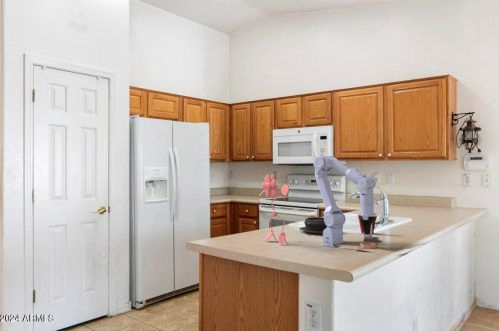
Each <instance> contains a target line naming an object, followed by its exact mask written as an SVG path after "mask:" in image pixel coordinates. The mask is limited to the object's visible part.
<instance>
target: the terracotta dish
mask: <svg viewBox="0 0 499 331" xmlns="http://www.w3.org/2000/svg"><path fill="white" fill-rule="evenodd" d="M359 246H360V247H361V248H366V249H365V250H374V249H373V248H376V244H375V243H370V242H364V243H362V242H360V243H359Z"/></svg>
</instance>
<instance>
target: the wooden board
mask: <svg viewBox="0 0 499 331" xmlns="http://www.w3.org/2000/svg"><path fill="white" fill-rule="evenodd" d="M381 241H382V240H380V239H379V242H378V243H375V244H376V248H373V249H372V250H377V249H378V247H379V246H380V243H381ZM361 243H364V239H362V242H361ZM370 243H373V242H370ZM357 252H358V253H373V254H375V252H374V251H369V250H367V249H366V248H361V247H360V245H358V247H357Z"/></svg>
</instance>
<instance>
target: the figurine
mask: <svg viewBox="0 0 499 331" xmlns="http://www.w3.org/2000/svg"><path fill="white" fill-rule="evenodd" d="M263 180H264V182H262V184H261V187H262V188H263V191H262V192H261V193H259V195H258V198H259V197H261V196H262V194H263V193H264V194H265V197H266V199H269V198H271V199H272V200H271V202H270V203H271V207H272V210H273V211H272V213H271V216H270V217H269V218H270V219H269V220H270V222H272V218H273V217H274V218H276V217H277V218H279V219H281V220H283V224H282V231H281V232H280V233H279V235H278V237H277V239H276V237H275V234H274V229H273V228H272V226H270V231H269V232H267V234H266V236H265V239H264V241H265V242H267V241H268V240H270V239H271V237H272V236H273V238H274V240H275V241H276V240H278V242H279V244H280V245H282V244H284V242H285V244H286V243H287V244H288V241H287V240H286V237H287V236H286V233H285V232H284V228H285V227H284V225H285V219H284V218H282V217H280V216H278V212H277V211H275V208H274V204H273V202H274V201H275V200H277V199H278V198H282V199H285V200H286V199H287V194H288V193H289V191H290V188H289V186H288V185H287V184H286V183H284V184H283V185H282V186H281V194H282V195H283V196H280V195H279V194H278V192H277V191H278V190H279V188H280V187H279V185H278V184H277V181H276V179H275V176H274V174H271V176H270V175H269V174H266V176H265V177H264V179H263ZM269 238H270V239H269Z"/></svg>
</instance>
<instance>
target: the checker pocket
mask: <svg viewBox="0 0 499 331" xmlns="http://www.w3.org/2000/svg"><path fill="white" fill-rule="evenodd" d="M363 240H364V242H373V243H378V242H379V240H380V237H379V236H372V239H366V238H364V237H363Z"/></svg>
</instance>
